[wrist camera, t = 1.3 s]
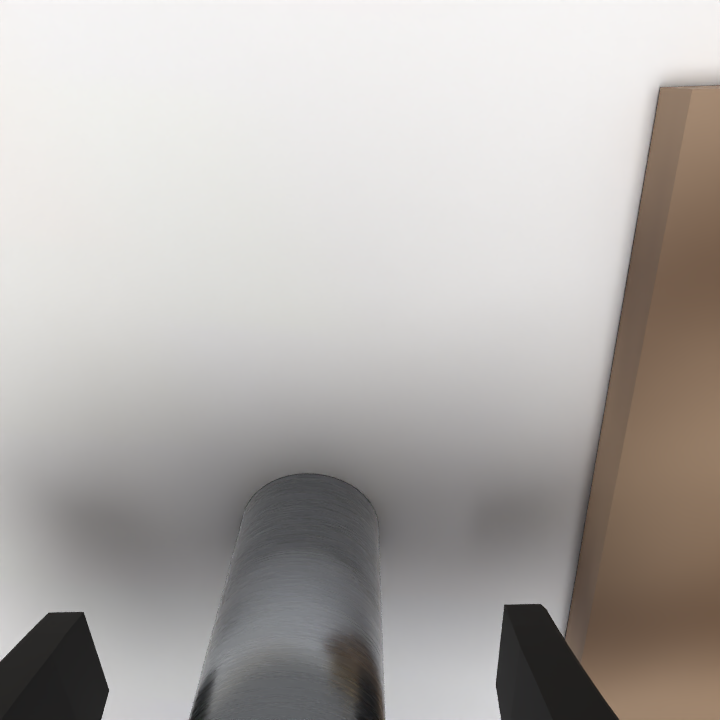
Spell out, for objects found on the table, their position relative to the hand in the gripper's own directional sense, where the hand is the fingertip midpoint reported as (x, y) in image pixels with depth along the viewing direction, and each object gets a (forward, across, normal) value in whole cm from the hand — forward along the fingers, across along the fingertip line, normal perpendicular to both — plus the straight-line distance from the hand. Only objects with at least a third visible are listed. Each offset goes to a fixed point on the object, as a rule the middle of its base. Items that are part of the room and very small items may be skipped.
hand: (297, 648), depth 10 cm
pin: (+3, 0, 0) cm, 3 cm away
